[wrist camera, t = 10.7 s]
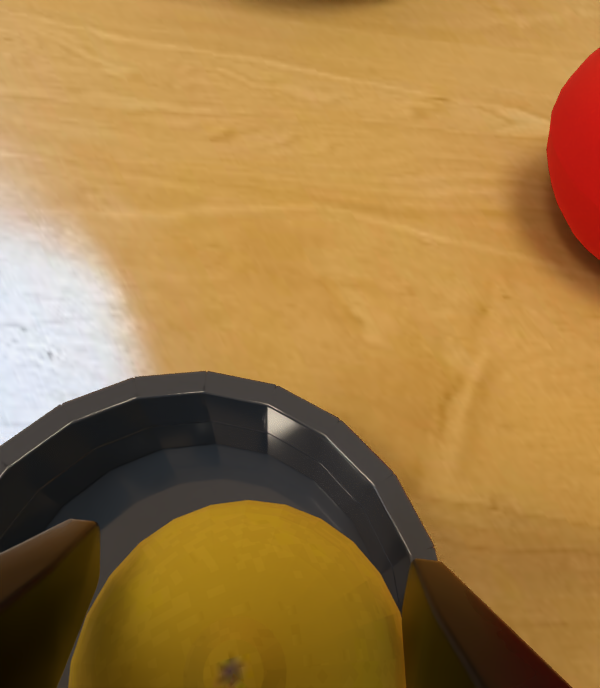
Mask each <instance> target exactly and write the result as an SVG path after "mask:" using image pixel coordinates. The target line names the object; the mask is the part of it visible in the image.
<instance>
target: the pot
mask: <svg viewBox="0 0 600 688" xmlns="http://www.w3.org/2000/svg"><path fill="white" fill-rule="evenodd" d="M244 500H253V501H261V502H269V503H277V504H285V505H288V506H290V507H293V508H295V509H298V510H300V511H303V512H305V513H308V514H310V515H313V516H315V517H318V518H320V519H322V520H324V521H325V522H326V523H328V524H329V525H331V526H332V527H333V528H335V529H336V530H338V531H339V532H340V533H342V534H343V535H345V536H346V537H347V538H349V539H350V540H352V541H353V542H354V543H355V544H356V545H357V547H358V548H359V549H360V550H361V551H362V553H363V554H364V555H365V556H366V557H367V558H368V560H369V561H370V562H371V563H372V564H373V565H374V567H375V568H376V569H377V570H378V571H379V573H380V574H381V576H382V578H383V580H384V582H385V584H386V586H387V588H388V590H389V592H390V593H391V595H392V597H393V599H394V601H395V603H396V605H397V607H398V609H399V611H400V614H401V617H402V606H403V600H404V595H405V589H406V584H407V578H408V573H409V568H410V564H411V562H412V561H413V560H414V559H425V560H434V561H438V560H437V555H436V551H435V548H433V547H434V545H433V543H432V541H431V539H430V537H429V535H428V533H427V532H426V530H425V528H424V526H423V524H422V522H421V521H420V519H419V517H418V515H417V513H416V511H415V509H414V508H413V506H412V504H411V502H410V500H409V498H408V497H407V495H406V493H405V491H404V489H403V487H402V485H401V484H400V482H399V480H398V478H397V476H396V475H395V474H394V473H393V471H392V470H391V469H390V468H389V467H388V466H387V465H386V464H385V463H384V462H383V461H382V460H381V459H380V458H379V457H378V456H377V455H376V454H375V453H374V452H373V451H372V450H371V449H370V448H369V447H368V446H367V445H366V444H365V443H364V442H363V441H362V440H361V439H360V438H359V437H358V436H357V435H356V434H355V433H354V432H353V431H352V430H351V429H350V428H349V427H348V426H347V425H346V424H345V423H344V422H343V421H341V420H340V419H339V418H338V417H336V416H334V415H332V414H330V413H328V412H326V411H324V410H323V409H321V408H319V407H317V406H315V405H313V404H311V403H309V402H308V401H306V400H304V399H302V398H300V397H298V396H296V395H295V394H293V393H291V392H289V391H287V390H285V389H283V388H281V387H280V386H276V385H275V384H270V383H265V382H260V381H255V380H250V379H245V378H240V377H235V376H230V375H225V374H220V373H215V372H210V371H207V372H206V371H199V372H187V373H175V374H163V375H151V376H139V377H135V378H130V379H127V380H125V381H122V382H119V383H116V384H114V385H111V386H108V387H105V388H103V389H100V390H97V391H95V392H92V393H89V394H86V395H84V396H81V397H78V398H76V399H73V400H70V401H67V402H65V403H63V404H62V405H58V406H57V407H55V408H54V409H53V410H51V411H50V412H48V413H47V414H45V415H44V416H43V417H41V418H40V419H38V420H37V421H35V422H34V423H33V424H31V425H30V426H28V427H27V428H25V429H24V430H22V431H21V432H20V433H18V434H17V435H15V436H14V437H12V438H11V439H10V440H8V441H7V442H5V443H4V444H2V445H1V446H0V553H2V552H4V551H6V550H8V549H10V548H12V547H14V546H16V545H18V544H20V543H22V542H24V541H26V540H28V539H30V538H32V537H34V536H36V535H38V534H40V533H42V532H44V531H46V530H48V529H50V528H52V527H54V526H56V525H58V524H60V523H62V522H64V521H66V520H69V519H80V520H88V521H95V522H97V523H98V524H99V527H100V533H101V535H100V575H99V580H98V584H97V588H96V590H95V593H94V595H93V598H92V601H91V603H90V606H89V608H88V611H87V613H86V615H87V614H88V612H89V610H90V609H91V607H92V605H93V603H94V602H95V600H96V598H97V597H98V595H99V593H100V591H101V590H102V588H103V586H104V585H105V583H106V581H107V580H108V578H109V576H110V575H111V574H112V573H113V571H114V570H115V569H116V568H117V567H118V566H119V565H120V564H121V563H122V562H123V560H124V559H125V558H126V557H127V556H128V555H129V554H130V553H131V552H132V551H133V550H134V548H135V547H136V546H137V545H138V544H139V543H140V542H141V541H143V540H144V539H146V538H147V537H149V536H150V535H152V534H153V533H155V532H156V531H157V530H159V529H160V528H162V527H163V526H165V525H166V524H168V523H169V522H171V521H172V520H173V519H176V518H178V517H181V516H183V515H186V514H188V513H191V512H194V511H196V510H199V509H201V508H204V507H207V506H209V505H214V504H221V503H229V502H237V501H244ZM85 618H86V616H85ZM85 618H84V621H85ZM84 621H83V623H82V626H81V628H80V631H79V633H78V636H77V638H76V641H75V643H74V646H73V648H72V651H71V654H70V656H69V659H68V661H67V664H66V666H65V669H64V671H63V674H62V676H61V678H60V681H59V683H58V686H57V688H68V685H69V675H70V666H71V660H72V657H73V654H74V651H75V648H76V645H77V642H78V639H79V636H80V633H81V630H82V627H83V624H84Z"/></svg>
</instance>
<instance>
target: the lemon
mask: <svg viewBox="0 0 600 688" xmlns="http://www.w3.org/2000/svg"><path fill="white" fill-rule="evenodd" d="M68 688H406V677H405V663H404V650H403V636H402V617H401V614H400V611H399V609H398V607H397V605H396V603H395V601H394V599H393V597H392V595H391V593H390V592H389V590H388V588H387V586H386V584H385V582H384V580H383V578H382V576H381V574H380V573H379V571H378V570H377V569H376V568H375V567H374V565H373V564H372V563H371V562H370V561H369V560H368V558H367V557H366V556H365V555H364V554H363V553H362V551H361V550H360V549H359V548H358V547H357V545H356V544H355V543H354V542H353V541H352V540H350V539H349V538H347V537H346V536H345V535H343V534H342V533H340V532H339V531H338V530H336V529H335V528H333V527H332V526H331V525H329V524H328V523H326V522H325V521H324V520H322V519H320V518H318V517H315V516H313V515H310V514H308V513H305V512H303V511H300V510H298V509H295V508H293V507H290V506H288V505H285V504H277V503H269V502H261V501H253V500H244V501H237V502H229V503H221V504H214V505H209V506H207V507H204V508H201V509H199V510H196V511H194V512H191V513H188V514H186V515H183V516H181V517H178V518H176V519H173V520H172V521H171V522H169V523H168V524H166V525H165V526H163V527H162V528H160V529H159V530H157V531H156V532H155V533H153V534H152V535H150V536H149V537H147V538H146V539H144V540H143V541H141V542H140V543H139V544H138V545H137V546H136V547H135V548H134V550H133V551H132V552H131V553H130V554H129V555H128V556H127V557H126V558H125V559H124V560H123V562H122V563H121V564H120V565H119V566H118V567H117V568H116V569H115V570H114V571H113V573H112V574H111V575H110V576H109V578H108V580H107V581H106V583H105V585H104V586H103V588H102V590H101V591H100V593H99V595H98V597H97V598H96V600H95V602H94V603H93V605H92V607H91V609H90V610H89V612H88V614H87V615H86V618H85V621H84V624H83V627H82V630H81V633H80V636H79V639H78V642H77V645H76V648H75V651H74V654H73V657H72V660H71V666H70V675H69V685H68Z"/></svg>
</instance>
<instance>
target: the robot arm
mask: <svg viewBox="0 0 600 688" xmlns="http://www.w3.org/2000/svg"><path fill="white" fill-rule="evenodd" d="M100 535H101V533H100V527H99V524H98V523H97V522H95V521H88V520H80V519H69V520H66V521H64V522H62V523H60V524H58V525H56V526H54V527H52V528H50V529H48V530H46V531H44V532H42V533H40V534H38V535H36V536H34V537H32V538H30V539H28V540H26V541H24V542H22V543H20V544H18V545H16V546H14V547H12V548H10V549H8V550H6V551H4V552H2V553H0V688H57V686H58V683H59V681H60V678H61V676H62V674H63V671H64V669H65V666H66V664H67V661H68V659H69V656H70V654H71V651H72V648H73V646H74V643H75V641H76V638H77V636H78V633H79V631H80V628H81V626H82V623H83V621H84V618H85V616H86V613H87V611H88V608H89V606H90V603H91V601H92V598H93V595H94V593H95V590H96V588H97V584H98V580H99V575H100ZM402 636H403V650H404V663H405V677H406V688H572V687H571V686H570V685H569V684H568V683H567V682H566V681H565V680H564V679H563V678H562V677H561V676H560V675H559V674H558V673H557V672H556V671H554V670H553V669H552V668H551V667H550V666H549V665H548V664H547V663H546V662H545V661H544V660H543V659H542V658H541V657H540V656H539V655H538V654H537V653H536V652H535V651H534V650H533V649H532V648H531V647H530V646H529V645H527V644H526V643H525V642H524V641H523V640H522V639H521V638H520V637H519V636H518V635H517V634H516V633H515V632H514V631H513V630H512V629H511V628H510V627H509V626H508V625H507V624H506V623H505V622H504V621H503V620H501V619H500V618H499V617H498V616H497V615H496V614H495V613H494V612H493V611H492V610H491V609H490V608H489V607H488V606H487V605H486V604H485V603H484V602H483V601H482V600H481V599H480V598H479V597H478V596H477V595H475V594H474V593H473V592H472V591H471V590H470V589H469V588H468V587H467V586H466V585H465V584H464V583H463V582H462V581H461V580H460V579H459V578H458V577H457V576H456V575H455V574H454V573H453V572H452V571H451V570H449V569H448V568H447V567H446V566H445V565H444V564H443V563H442V562H440V561H434V560H425V559H414V560H413V561H412V562H411V564H410V568H409V573H408V578H407V584H406V589H405V595H404V600H403V606H402Z"/></svg>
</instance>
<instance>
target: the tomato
mask: <svg viewBox="0 0 600 688" xmlns="http://www.w3.org/2000/svg"><path fill="white" fill-rule="evenodd" d="M546 151H547V159H548V168H549V173H550V179H551V184H552V188H553V192H554V195H555V198H556V201H557V204H558V206H559V208H560V210H561V212H562V214H563V216H564V218H565V220H566V221H567V223H568V225H569V227H570V229H571V231H572V233H573V234H574V235H575V237H576V238H577V239H578V240H579V241H580V242H581V244H582V245H583V246H584V247H585V248H586V249H587V250H588V251H589V252H590V253H591V254H593V255H594V256H595V257H596V258H597V259H599V260H600V48H598V49H597V50H596V51H595V52H593V53H592V54H591V55H590V56H589V57H588V58H587V59H586V60H585V61H584V62H583V63H582V65H581V66H580V67H579V68H578V69H577V70H576V71H575V72H574V74H573V75H572V76H571V77H570V78H569V80H568V81H567V82H566V84H565V85H564V87H563V88H562V89H561V92H560V94H559V96H558V98H557V101H556V103H555V105H554V108H553V110H552V114H551V123H550V131H549V137H548V143H547V149H546Z"/></svg>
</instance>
